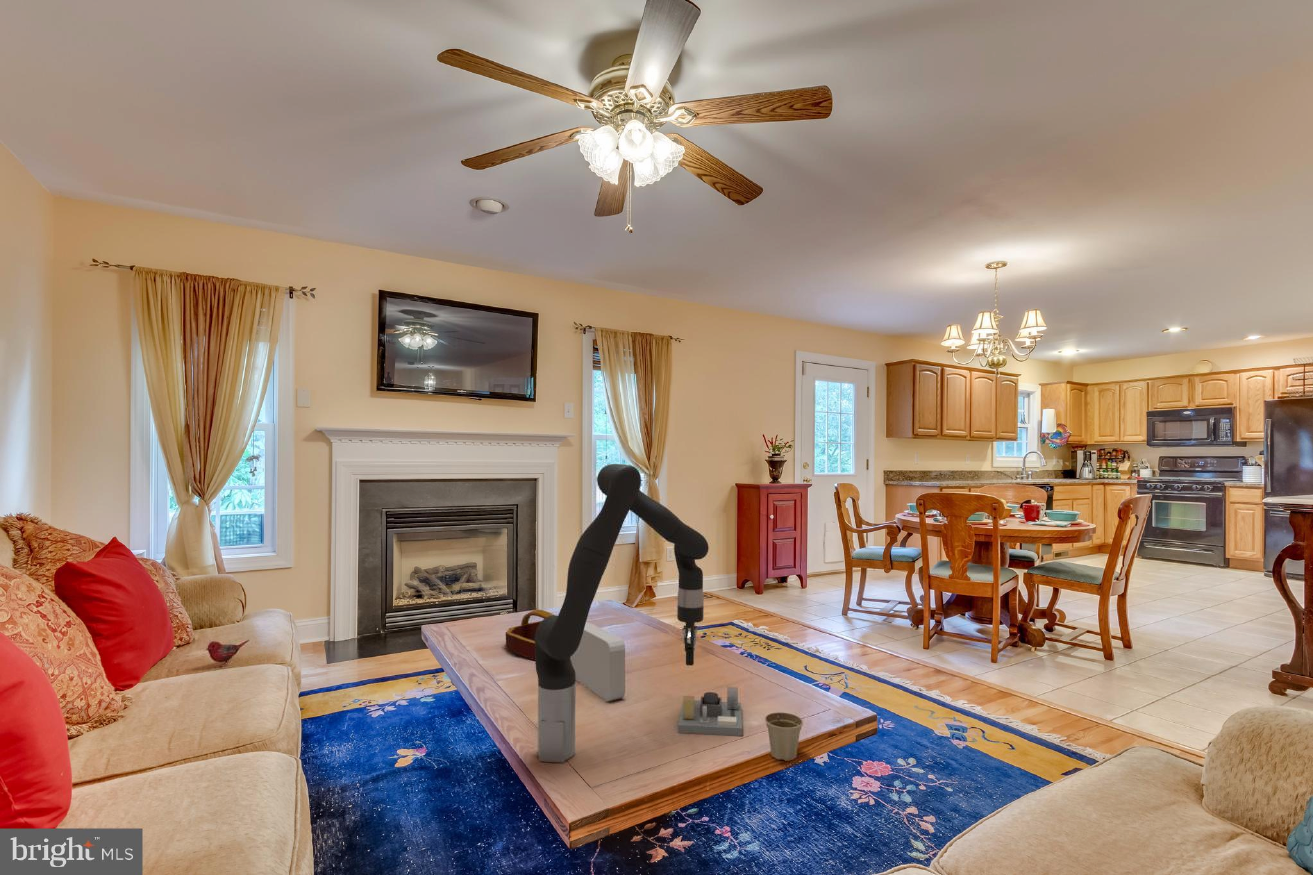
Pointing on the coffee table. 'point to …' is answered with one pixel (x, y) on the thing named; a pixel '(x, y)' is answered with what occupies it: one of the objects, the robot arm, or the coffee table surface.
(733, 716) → the control board
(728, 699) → the light grey block
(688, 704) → the gold rectangular block
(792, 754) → the flower pot
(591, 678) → the rounded white slab
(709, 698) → the black button
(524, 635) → the decorative basket
